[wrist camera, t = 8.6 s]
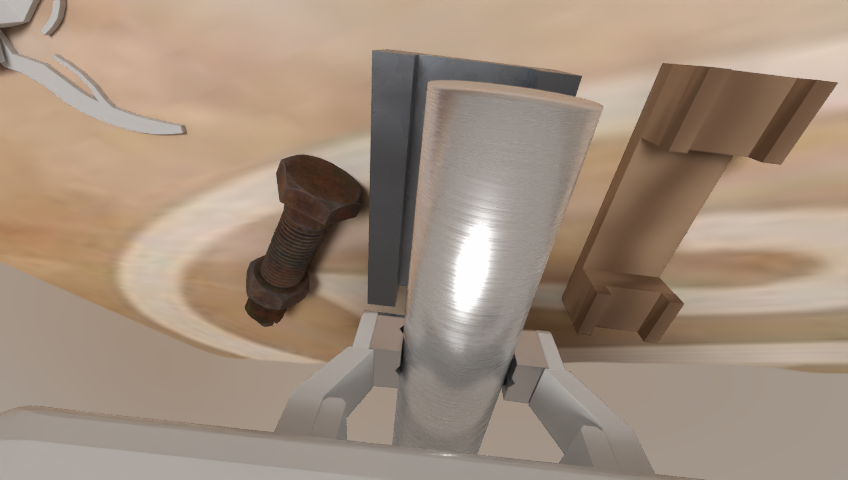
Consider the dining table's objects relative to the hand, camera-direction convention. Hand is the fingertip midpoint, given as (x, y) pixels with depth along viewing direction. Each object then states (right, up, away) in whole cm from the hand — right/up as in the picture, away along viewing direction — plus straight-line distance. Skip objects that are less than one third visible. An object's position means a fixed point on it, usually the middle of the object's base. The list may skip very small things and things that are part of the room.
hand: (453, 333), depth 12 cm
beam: (+15, +6, +12) cm, 20 cm away
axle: (0, 0, -1) cm, 1 cm away
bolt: (-11, +3, +15) cm, 19 cm away
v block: (+1, +7, +12) cm, 14 cm away
